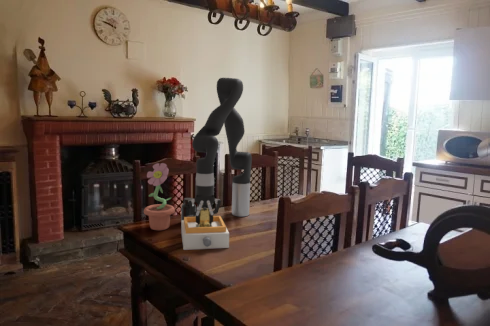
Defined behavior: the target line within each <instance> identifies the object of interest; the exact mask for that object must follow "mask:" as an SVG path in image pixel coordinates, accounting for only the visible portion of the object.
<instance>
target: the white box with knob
mask: <svg viewBox="0 0 490 326" xmlns="http://www.w3.org/2000/svg"><path fill="white" fill-rule="evenodd" d="M180 222H181V226H180V229H181V230H180V231H181V240H182V248H183V250H184V251H188V250H209V249H211V250H212V249H229V248H230V232H229V230H228V228H227V225H226V224H225V222H224V220H223V218H222V216H221V215H213V222H212V224H210V227H199V224H197V223H196V217H184V220H181V219H180Z"/></svg>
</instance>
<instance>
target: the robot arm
mask: <svg viewBox="0 0 490 326" xmlns="http://www.w3.org/2000/svg"><path fill="white" fill-rule="evenodd" d="M243 84H244V83H243V81H242V80H241V79H239V78H233V77H232V78H231V77H220V78H219V79H218V80H217V82H216V94H217V96H218V97H217V98H218V100H219V105H218V106H217V107H216V108H214V109H213V110H212V111H211V113H210V114H209V115H208V118H207V120H206V122H205V124H204V125H203V126H202V128H200V130H199V131H198V132H196V133H195V135H194V137H193V138H192V139H193V140H192V143H191V144H192V148H193V150H194V151H195V152H197V153H206V155H205V156H204V157H201V158H197V159H196V174H195V197H194V198H193V199H192V200H190V199H189V200H188V202H189V206H190V209H191V213H192V214H194V215H196V223H197V224H199V213H200V210H201V208H203V206H207V208H209V211H210V224H212V222H213V216H215V215H216V214H218V213H219V209H220V206H221V204H222V200H221V199H220V198H215V175H214V174H215V173H214V172H215V171H214V168H215V165H214V163H215V160H216V156H217V153H218V150H219V139H218V138H217V136H219V135H220V134H221V132H222V131H221V130H222V129H223V128H224V129H225V130H224V131H225V134H226V135H225V136H226V139H227V144H228V154H229V164H230V167H231V168H232V169H234V170H243V172H242V173H240V174H238V175H235V176H233V177H232V186H231V187H232V190H231V191H232V195H231V196H232V197H231V198H232V199H231V200H232V201H231V215H232V216H235V217H248V216H249V215H250V199H251V176H252V164H253V163H252V161H253V156H252V153H251V152H248V151H238V150H237V147H238V145H239V144H240V142H241V140H242V139H243V138H244V135H245V125H244V124H245V123H244V120H243V119H244V118H243V117H242V116H241V114H240V113H239V112H238V110H237V109H236V108H235V107H236V105H237V104H238V102H239V100H240V99H241V98H242V95H243V92H244V85H243ZM223 126H224V127H223ZM195 203H196V205H197V206H196V211H194V209H193V206H192V205H193V204H195ZM214 203H215V207H214V210H213V208H212V205H213V204H214Z"/></svg>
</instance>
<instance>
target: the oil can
mask: <svg viewBox="0 0 490 326" xmlns="http://www.w3.org/2000/svg"><path fill="white" fill-rule="evenodd" d="M199 227H210V211H209V208H207V206H203V208H201V210H200V213H199Z"/></svg>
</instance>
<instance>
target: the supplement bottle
mask: <svg viewBox="0 0 490 326" xmlns="http://www.w3.org/2000/svg"><path fill="white" fill-rule="evenodd" d="M189 199H190V200H192V199H194V198H193V197H184V198H183V203H182V204H181V213H180V214H181V216H180V221H181V220H184V217H196V215H194V214H192V213H191V209H190V206H189V202H188V200H189ZM196 205H197V204H195V203H194V204H193V205H192V206H193V209H194V211H196V210H197V206H196Z"/></svg>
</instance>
